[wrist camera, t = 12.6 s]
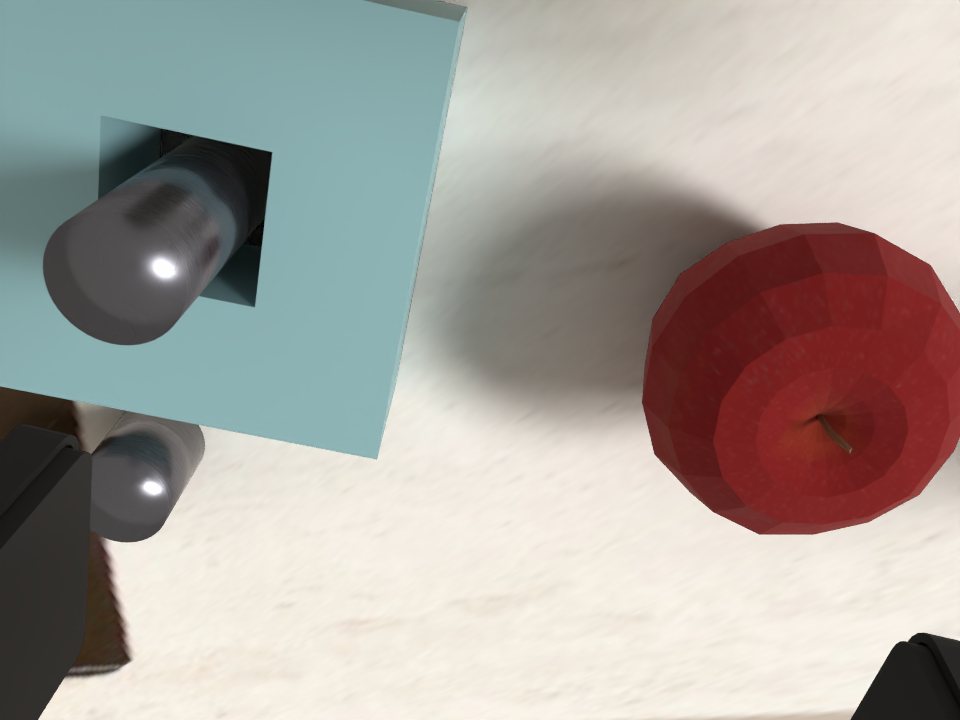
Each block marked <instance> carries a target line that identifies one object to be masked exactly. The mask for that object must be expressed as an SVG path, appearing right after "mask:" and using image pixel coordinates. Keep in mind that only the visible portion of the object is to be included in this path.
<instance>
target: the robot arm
mask: <svg viewBox="0 0 960 720" xmlns="http://www.w3.org/2000/svg"><path fill="white" fill-rule="evenodd" d="M91 484H92V457H91V454H90V453H88V452H85V451H81V450H79V443H78V440H77V438H76V437H75V436H73V435H70V434H66V433H62V432H57V431H53V430H49V429H44V428H40V427H36V426H32V425H27V424H22V425H19V426H17V427H16V428H15V429H13V430H12V431H11V432H10V433H9V434H8V435H7V436H6V437H5V438H4V439H3V440H2V441H1V442H0V720H38V719H39V717H40V715H41V714H42V712H43V711H44V709H45V708H46V706H47V704H48V703H49V701H50V700H51V698H52V697H53V695H54V693H55V692H56V690H57V689H58V687H59V685H60V684H61V682H62V681H63V679H64V678H65V676H66V674H67V673H68V671H69V670H70V668H71V667H72V665H73V663H74V661H75V660H76V658H77V656H78V653H79V651H80V649H81V646H82V643H83V639H84V635H85V628H86V605H87V581H88V557H89V533H90V509H91ZM851 720H960V641H958V640H954V639H949V638H945V637H941V636H936V635H932V634H928V633H917V634H916V635H914V636H912V637H911V638H910V640H909V641H908V642H906V641H901V642H899V643H897V644H896V645H895V646H894V647H893V649H892V650H891V652H890V654H889V655H888V657H887V659H886V660H885V662H884V664H883V665H882V667H881V669H880V671H879V672H878V674H877V676H876V677H875V679H874V681H873V682H872V684H871V686H870V687H869V689H868V691H867V693H866V694H865V696H864V698H863V699H862V701H861V703H860V704H859V706H858V708H857V710H856V711H855V713H854V715H853V716H852V718H851Z"/></svg>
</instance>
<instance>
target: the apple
mask: <svg viewBox="0 0 960 720" xmlns="http://www.w3.org/2000/svg"><path fill="white" fill-rule="evenodd" d="M642 404H643V408H644V412H645V416H646V420H647V425H648V429H649V433H650V437H651V441H652V446H653V450H654V454H655V455H656V456H657V457H658V458H659V459H660V461H661V462H662V463H663V464H664V465H665V466H666V467H667V468H668V469H669V470H670V471H671V472H672V473H673V474H674V475H675V477H676V478H677V479H678V480H679V481H680V482H681V483H682V484H683V485H684V486H685V487H686V488H687V489H688V490H689V492H690V493H692V494H693V495H694V496H695V497H696V498H697V499H699V500H700V501H701V502H702V503H703V504H705V505H706V506H707V507H708V508H709V509H710V510H712V511H713V512H714V513H716V514H718V515H721V516H723V517H725V518H727V519H729V520H731V521H733V522H735V523H737V524H739V525H741V526H743V527H745V528H747V529H749V530H751V531H753V532H755V533H758V534H818V533H822V532H827V531H831V530H836V529H840V528H845V527H849V526H854V525H858V524H863V523H867V522H870V521H872V520H874V519H875V518H877V517H879V516H881V515H883V514H885V513H887V512H888V511H890V510H892V509H894V508H896V507H898V506H899V505H901V504H903V503H905V502H907V501H909V500H911V499H912V498H914V497H916V496H918V495H919V494H920V493H921V492H922V491H923V489H924V488H925V487H926V486H927V484H928V483H929V482H930V481H931V479H932V478H933V477H934V475H935V474H936V473H937V472H938V470H939V469H940V468H941V467H942V465H943V464H944V463H945V462H946V460H947V459H948V458H949V457H950V455H951V454H952V453H953V452H954V450H955V447H956V445H957V443H958V440H959V438H960V313H959V311H958V309H957V308H956V306H955V304H954V303H953V301H952V300H951V298H950V296H949V295H948V293H947V291H946V290H945V288H944V286H943V285H942V283H941V281H940V280H939V278H938V276H937V275H936V273H935V272H934V270H933V268H932V267H931V265H929V264H928V263H926V262H924V261H922V260H921V259H919V258H917V257H915V256H913V255H912V254H910V253H908V252H906V251H905V250H903V249H901V248H899V247H898V246H896V245H894V244H892V243H890V242H889V241H887V240H885V239H883V238H882V237H880V236H878V235H876V234H875V233H871V232H868V231H865V230H861V229H858V228H854V227H851V226H848V225H844V224H841V223H810V224H782V225H777V226H774V227H771V228H769V229H766V230H763V231H760V232H757V233H754V234H751V235H748V236H745V237H742V238H739V239H736V240H733V241H731V242H728V243H725V244H724V245H723V246H721V247H720V248H718V249H717V250H715V251H714V252H712V253H711V254H709V255H708V256H706V257H705V258H703V259H702V260H700V261H699V262H697V263H696V264H695V265H693V266H692V267H690V268H689V269H687V270H686V271H684V272H683V273H681V274H680V275H679V277H678V279H677V280H676V282H675V283H674V285H673V287H672V288H671V290H670V292H669V293H668V295H667V296H666V298H665V300H664V301H663V303H662V305H661V306H660V308H659V309H658V311H657V313H656V314H655V316H654V318H653V320H652V326H651V332H650V338H649V344H648V350H647V356H646V362H645V370H644V384H643V398H642Z"/></svg>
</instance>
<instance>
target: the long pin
mask: <svg viewBox="0 0 960 720" xmlns="http://www.w3.org/2000/svg"><path fill="white" fill-rule="evenodd" d="M271 161H272V152H270V151H265V150H260V149H256V148H251V147H246V146H242V145H237V144H232V143H228V142H223V141H218V140H214V139H209V138H204V137H200V136H195V135H194V136H192V137H191V138H189V139H188V140H186V141H185V142H183V143H182V144H180V145H179V146H177V147H176V148H174V149H173V150H171V151H170V152H168V153H167V154H165V155H164V156H162V157H161V158H159V159H158V160H156V161H155V162H153V163H152V164H150V165H149V166H147V167H146V168H144V169H143V170H141V171H140V172H138V173H137V174H136V175H134V176H133V177H131V178H130V179H128V180H127V181H125V182H124V183H122V184H121V185H119V186H118V187H116V188H115V189H113V190H112V191H110V192H109V193H107V194H106V195H104V196H103V197H101V198H100V199H98V200H97V201H95V202H94V203H92V204H91V205H89V206H88V207H86V208H85V209H83V210H82V211H80V212H79V213H77V214H76V215H74V216H73V217H71V218H70V219H68V220H67V221H65V222H64V223H63V224H62V225H60V226H59V227H58V228H57V229H56V230H55V232H54V233H53V234H52V236H51V237H50V239H49V241H48V243H47V246H46V248H45V252H44V256H43V276H44V280H45V284H46V287H47V290H48V293H49V295H50V297H51V299H52V301H53V302H54V304H55V305H56V307H57V309H58V310H59V311H60V312H61V313H62V315H63V316H64V317H65V318H66V319H67V320H68V321H69V322H70V323H71V324H73V325H74V326H75V327H76V328H78V329H79V330H81V331H82V332H84V333H85V334H87V335H89V336H91V337H93V338H95V339H98V340H100V341H103V342H107V343H111V344H116V345H140V344H144V343H148V342H150V341H153V340H156V339H157V338H159V337H161V336H163V335H164V334H165V333H167V332H168V331H169V330H170V329H171V328H172V327H173V326H174V325H175V324H176V323H177V321H178V320H179V319H180V318H181V317H182V315H183V314H184V313H185V312H186V311H187V309H188V308H189V307H190V306H191V305H192V303H193V302H194V301H195V300H196V299H197V298H198V296H199V295H200V294H201V293H202V292H203V290H204V289H205V288H206V287H207V286H208V284H209V283H210V282H211V281H212V280H213V278H214V277H215V276H216V275H217V274H218V273H219V271H220V270H221V269H222V268H223V267H224V265H225V264H226V263H227V262H228V261H229V259H230V258H231V257H232V256H233V255H234V253H235V252H236V251H237V250H238V249H239V248H240V246H241V245H242V244H243V243H244V242H245V240H246V239H247V238H248V237H249V236H250V234H251V233H252V232H253V231H254V230H255V228H256V227H257V226H258V225H259V224H260V223H261V221H262V220H263V219H264V218H265V214H266V205H267V197H268V188H269V179H270V170H271Z"/></svg>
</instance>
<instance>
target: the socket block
mask: <svg viewBox="0 0 960 720" xmlns="http://www.w3.org/2000/svg"><path fill="white" fill-rule="evenodd" d="M466 12H467V7H463V6H459V5H454V4H450V3H445V2H441V1H436V0H0V386H2V387H7V388H12V389H17V390H22V391H27V392H32V393H38V394H43V395H48V396H53V397H58V398H63V399H69V400H74V401H79V402H84V403H89V404H94V405H99V406H105V407H110V408H115V409H120V410H125V411H130V412H136V413H141V414H146V415H151V416H156V417H161V418H166V419H172V420H177V421H182V422H187V423H192V424H197V425H202V426H208V427H213V428H218V429H223V430H228V431H233V432H239V433H244V434H249V435H254V436H259V437H264V438H269V439H275V440H280V441H285V442H290V443H295V444H300V445H306V446H311V447H316V448H321V449H326V450H331V451H336V452H342V453H347V454H352V455H357V456H362V457H367V458H373V459H377V457H378V453H379V449H380V445H381V441H382V437H383V433H384V429H385V425H386V421H387V417H388V413H389V409H390V405H391V401H392V397H393V393H394V389H395V385H396V379H397V374H398V369H399V364H400V358H401V353H402V348H403V343H404V337H405V332H406V327H407V322H408V316H409V311H410V306H411V301H412V295H413V290H414V285H415V280H416V274H417V269H418V264H419V259H420V253H421V248H422V243H423V238H424V232H425V227H426V222H427V217H428V211H429V206H430V201H431V196H432V190H433V185H434V180H435V175H436V169H437V164H438V159H439V154H440V148H441V143H442V138H443V133H444V127H445V122H446V117H447V112H448V107H449V101H450V96H451V91H452V86H453V80H454V75H455V70H456V65H457V59H458V54H459V49H460V44H461V38H462V33H463V28H464V23H465V17H466ZM162 129H167V130H171V131H176V132H181V133H186V134H190V135H195V136H200V137H204V138H209V139H214V140H218V141H223V142H228V143H232V144H237V145H242V146H246V147H251V148H256V149H260V150H265V151H270V152H272V161H271V170H270V179H269V188H268V197H267V205H266V214H265V223H264V232H263V241H262V247H257V246H253V245H248V244H242V245H241V246H240V248H239V249H238V250H237V251H236V252H235V253H234V255H233V256H232V257H231V258H230V259H229V261H228V262H227V263H226V264H225V265H224V267H223V268H222V269H221V270H220V271H219V273H218V274H217V275H216V276H215V277H214V278H213V280H212V281H211V282H210V283H209V284H208V286H207V287H206V288H205V289H204V290H203V292H202V293H201V294H200V295H199V296H198V298H197V299H196V300H195V301H194V302H193V303H192V305H191V306H190V307H189V308H188V309H187V311H186V312H185V313H184V314H183V315H182V317H181V318H180V319H179V320H178V321H177V323H176V324H175V325H174V326H173V327H172V328H171V329H170V330H169V331H168V332H167V333H165V334H164V335H163V336H161V337H159V338H157V339H156V340H153V341H150V342H148V343H144V344H140V345H116V344H111V343H107V342H103V341H100V340H98V339H95V338H93V337H91V336H89V335H87V334H85V333H84V332H82V331H81V330H79V329H78V328H76V327H75V326H74V325H73V324H71V323H70V322H69V321H68V320H67V319H66V318H65V317H64V316H63V315H62V313H61V312H60V311H59V310H58V309H57V307H56V305H55V304H54V302H53V301H52V299H51V297H50V295H49V293H48V290H47V287H46V284H45V280H44V276H43V256H44V252H45V248H46V246H47V243H48V241H49V239H50V237H51V236H52V234H53V233H54V232H55V230H56V229H57V228H58V227H59V226H60V225H62V224H63V223H64V222H65V221H67V220H68V219H70V218H71V217H73V216H74V215H76V214H77V213H79V212H80V211H82V210H83V209H85V208H86V207H88V206H89V205H91V204H92V203H94V202H95V201H97V200H98V199H100V198H101V197H103V196H104V195H106V194H107V193H109V192H110V191H112V190H113V189H115V188H116V187H118V186H119V185H121V184H122V183H124V182H125V181H127V180H128V179H130V178H131V177H133V176H134V175H136V174H137V173H138V172H140V171H141V170H143V169H144V168H146V167H147V166H149V165H150V164H152V163H153V162H155V161H156V160H158V159H159V158H160V146H161V130H162Z"/></svg>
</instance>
